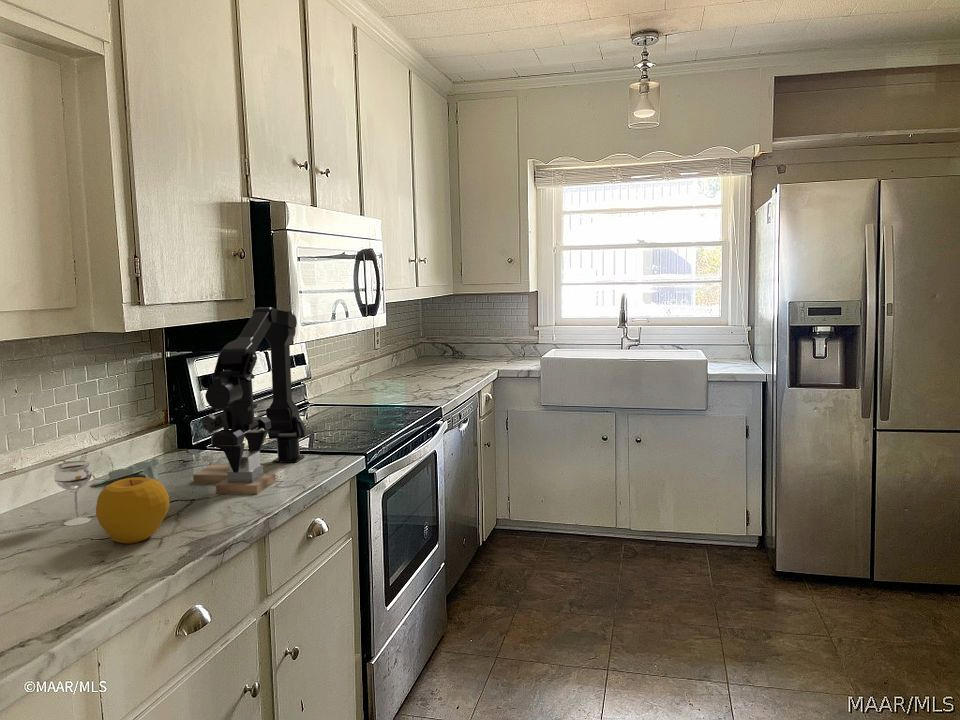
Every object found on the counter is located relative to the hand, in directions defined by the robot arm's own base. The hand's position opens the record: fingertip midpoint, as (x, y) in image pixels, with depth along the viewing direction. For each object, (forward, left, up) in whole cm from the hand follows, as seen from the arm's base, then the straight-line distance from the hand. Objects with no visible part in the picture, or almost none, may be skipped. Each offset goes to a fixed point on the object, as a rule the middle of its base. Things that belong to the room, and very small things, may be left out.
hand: (245, 466), depth 174 cm
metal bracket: (-5, -32, -6) cm, 33 cm away
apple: (+33, -7, -5) cm, 34 cm away
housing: (0, 0, -3) cm, 3 cm away
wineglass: (+25, -25, -5) cm, 36 cm away
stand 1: (-8, -10, -5) cm, 14 cm away
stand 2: (0, 0, -5) cm, 5 cm away
